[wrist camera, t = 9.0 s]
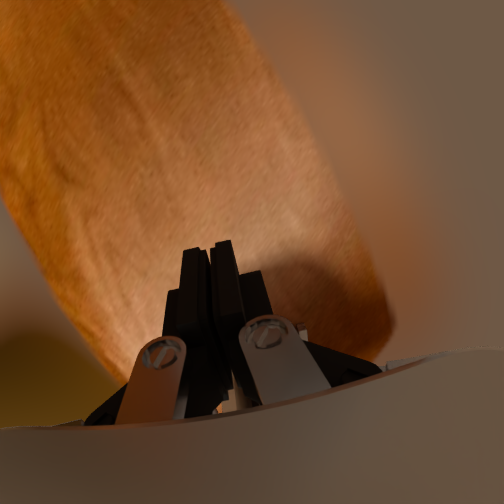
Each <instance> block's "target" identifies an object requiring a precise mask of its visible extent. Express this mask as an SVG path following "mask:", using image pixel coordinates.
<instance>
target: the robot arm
mask: <svg viewBox="0 0 504 504" xmlns="http://www.w3.org/2000/svg"><path fill="white" fill-rule="evenodd" d="M210 262H211V265H210ZM210 262H209V258H208V255H207V252H206V249H205V250H200V248H199V247H196V248H192V249H187V250H184V251H183V257H182V266H181V275H180V284H179V288H178V289H174V290H170V291H168V295H167V302H166V309H165V316H164V324H163V331H162V337H158V338H156V339H153V340H152V341H150V342H149V343H147V344H146V345H145V346H144V347H143V348H142V349H141V350H140V352H139V354H138V356H137V359H136V362H135V365H134V367H133V370H132V373H131V376H130V379H129V382H128V383H127V384H126V385H124V386H123V387H122V388H121V389H120V390H119V391H117V392H116V393H115V394H114V395H113V396H111V397H110V398H109V399H108V400H107V401H105V402H104V403H103V404H102V405H101V406H100V407H98V408H97V409H96V410H95V411H94V412H93V413H91V415H90V416H89V417H88V418H87V419H86V421H85V422H84V421H83V420H82V419H80V420H75V421H71V422H68V423H63V424H59V425H54V426H19V427H7V428H2V429H0V504H504V348H501V347H489V346H483V347H470V348H462V349H457V350H452V351H445V352H440V353H435V354H429V355H425V356H419V357H413V358H407V359H401V360H395V361H388V362H387V363H386V366H380V367H378V366H377V365H376V364H373V363H371V362H369V361H366V360H363V359H360V358H356V357H353V356H350V355H347V354H344V353H341V352H338V351H335V350H332V349H329V348H326V347H323V346H320V345H317V344H314V343H311V342H308V341H305V340H302V339H301V337H300V336H299V334H298V332H297V331H296V329H295V328H294V326H293V324H292V323H291V322H290V321H289V320H288V319H286V318H284V317H282V316H278V315H273V312H272V308H271V305H270V301H269V298H268V295H267V291H266V288H265V284H264V281H263V278H262V274H261V271H260V270H258V271H254V272H250V273H245V274H241V275H239V272H238V268H237V263H236V259H235V255H234V251H233V247H232V243H231V240H226V241H222V242H217V243H215V247H214V248H210ZM232 372H233V375H234V378H235V380H236V383H237V386H238V388H242V390H243V393H244V395H245V396H246V397H248V398H250V399H251V400H253V401H255V402H257V403H259V405H260V406H256V407H252V408H247V409H241V410H236V411H231V412H225V413H219V414H218V411H217V409H216V408H217V407H218V405H219V404H220V403H221V402H222V401H227V400H229V394H228V390H232V389H234V386H233V377H232Z"/></svg>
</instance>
